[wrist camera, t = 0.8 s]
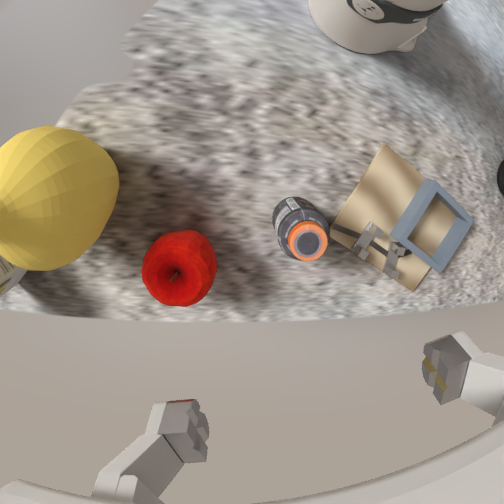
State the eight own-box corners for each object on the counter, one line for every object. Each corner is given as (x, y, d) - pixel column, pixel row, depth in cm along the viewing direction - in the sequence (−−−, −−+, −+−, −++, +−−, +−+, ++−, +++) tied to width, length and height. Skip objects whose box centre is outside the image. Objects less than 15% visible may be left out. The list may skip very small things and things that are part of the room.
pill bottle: (323, 223, 43) (347, 251, 32) (287, 246, 44) (299, 281, 33) (300, 187, 41) (319, 204, 30) (263, 211, 42) (268, 236, 32)
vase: (162, 176, 40) (36, 242, 14) (97, 256, 44) (-17, 373, 18) (85, 104, 36) (-74, 94, 10) (31, 189, 40) (-108, 248, 14)
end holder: (425, 178, 40) (435, 181, 37) (463, 215, 41) (474, 220, 39) (389, 234, 42) (398, 241, 40) (430, 266, 44) (439, 274, 41)
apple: (202, 206, 42) (187, 227, 32) (232, 260, 44) (228, 297, 34) (148, 235, 43) (121, 264, 33) (179, 286, 46) (162, 326, 36)
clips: (370, 220, 42) (376, 224, 39) (408, 248, 43) (416, 254, 41) (349, 250, 43) (355, 256, 41) (389, 276, 45) (396, 283, 42)
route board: (382, 143, 39) (385, 143, 38) (460, 213, 42) (463, 215, 41) (325, 232, 43) (326, 235, 42) (409, 289, 47) (412, 292, 46)
